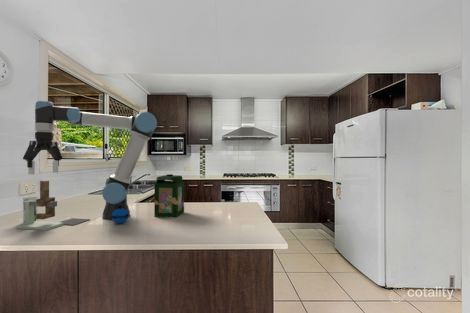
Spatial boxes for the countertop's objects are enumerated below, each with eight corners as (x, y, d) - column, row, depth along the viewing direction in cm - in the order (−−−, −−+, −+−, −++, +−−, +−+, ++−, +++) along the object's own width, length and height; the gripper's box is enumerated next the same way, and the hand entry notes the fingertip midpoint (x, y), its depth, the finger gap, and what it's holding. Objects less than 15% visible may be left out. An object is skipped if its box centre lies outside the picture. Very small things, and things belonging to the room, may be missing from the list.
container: (151, 217, 156) (151, 175, 156) (163, 211, 174) (163, 173, 174) (175, 218, 154) (175, 175, 154) (184, 211, 172) (185, 173, 172)
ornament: (121, 226, 137) (121, 207, 137) (107, 224, 140) (107, 206, 140) (132, 222, 146) (132, 204, 146) (119, 220, 148) (119, 203, 148)
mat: (90, 220, 150) (90, 219, 150) (73, 225, 138) (73, 224, 138) (71, 218, 152) (71, 218, 152) (54, 224, 140) (54, 223, 140)
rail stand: (63, 225, 139) (63, 199, 139) (47, 230, 129) (46, 203, 129) (35, 223, 142) (35, 198, 142) (16, 228, 132) (16, 202, 132)
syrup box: (22, 224, 140) (22, 197, 140) (25, 221, 145) (25, 195, 145) (36, 223, 143) (35, 196, 143) (38, 220, 148) (38, 194, 148)
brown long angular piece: (54, 216, 138) (54, 180, 138) (42, 219, 131) (42, 181, 131) (48, 215, 139) (48, 180, 139) (36, 219, 132) (36, 181, 132)
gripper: (58, 133, 147) (58, 171, 147) (13, 129, 123) (13, 175, 123) (70, 133, 146) (69, 172, 146) (26, 129, 121) (26, 175, 121)
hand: (44, 173), depth 134 cm, fingers open, 13 cm apart
